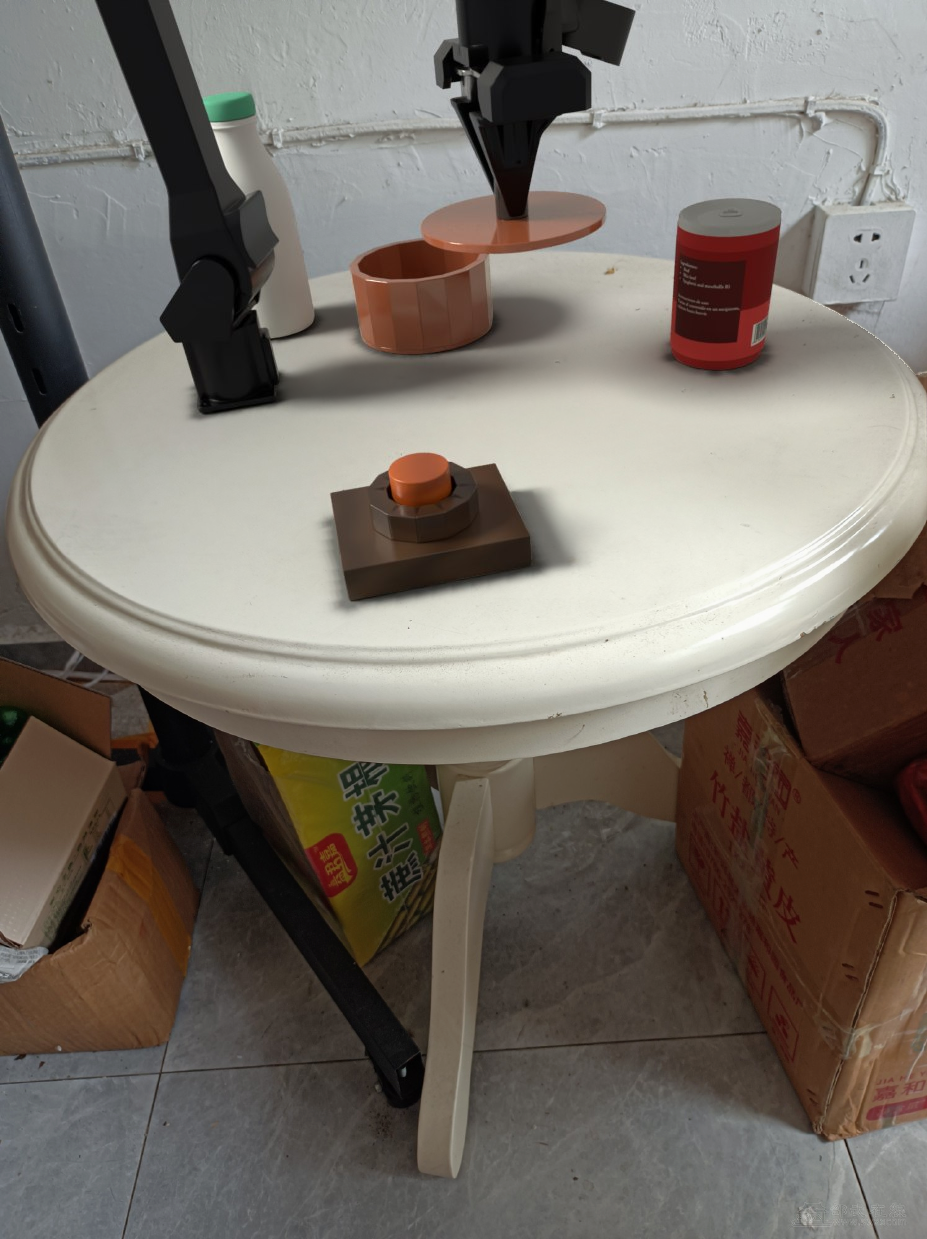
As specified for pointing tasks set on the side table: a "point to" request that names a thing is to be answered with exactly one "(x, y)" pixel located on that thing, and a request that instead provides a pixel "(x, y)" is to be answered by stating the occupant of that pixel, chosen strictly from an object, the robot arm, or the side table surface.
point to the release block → (428, 534)
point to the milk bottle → (254, 170)
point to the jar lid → (513, 223)
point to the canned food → (723, 281)
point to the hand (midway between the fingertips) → (511, 211)
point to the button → (420, 479)
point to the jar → (421, 297)
